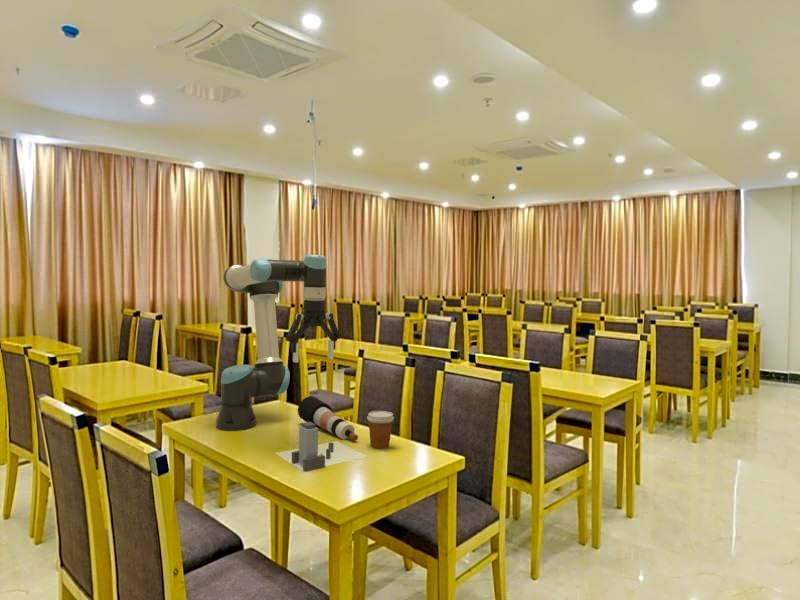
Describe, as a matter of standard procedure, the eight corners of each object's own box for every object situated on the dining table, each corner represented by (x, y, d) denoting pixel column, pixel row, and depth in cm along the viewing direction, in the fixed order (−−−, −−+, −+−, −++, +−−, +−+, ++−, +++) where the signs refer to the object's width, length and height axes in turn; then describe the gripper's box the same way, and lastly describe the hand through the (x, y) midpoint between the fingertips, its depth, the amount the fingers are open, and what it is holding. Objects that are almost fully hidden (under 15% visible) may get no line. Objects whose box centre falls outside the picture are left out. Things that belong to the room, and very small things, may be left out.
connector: (298, 463, 172) (299, 422, 172) (309, 461, 175) (310, 420, 174) (306, 468, 168) (306, 426, 168) (317, 465, 171) (318, 424, 170)
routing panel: (274, 454, 182) (274, 442, 182) (336, 442, 196) (336, 431, 196) (303, 473, 166) (303, 460, 165) (368, 458, 180) (368, 446, 180)
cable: (349, 457, 195) (340, 435, 191) (303, 425, 221) (294, 405, 217) (370, 440, 200) (362, 418, 196) (322, 411, 226) (314, 391, 222)
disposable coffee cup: (379, 453, 186) (380, 419, 185) (360, 447, 192) (361, 413, 191) (398, 447, 193) (399, 414, 192) (379, 441, 199) (380, 409, 198)
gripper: (286, 300, 177) (285, 365, 178) (350, 299, 192) (349, 359, 193) (276, 299, 183) (275, 361, 184) (339, 298, 198) (338, 356, 199)
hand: (313, 360), depth 189 cm, fingers open, 13 cm apart
